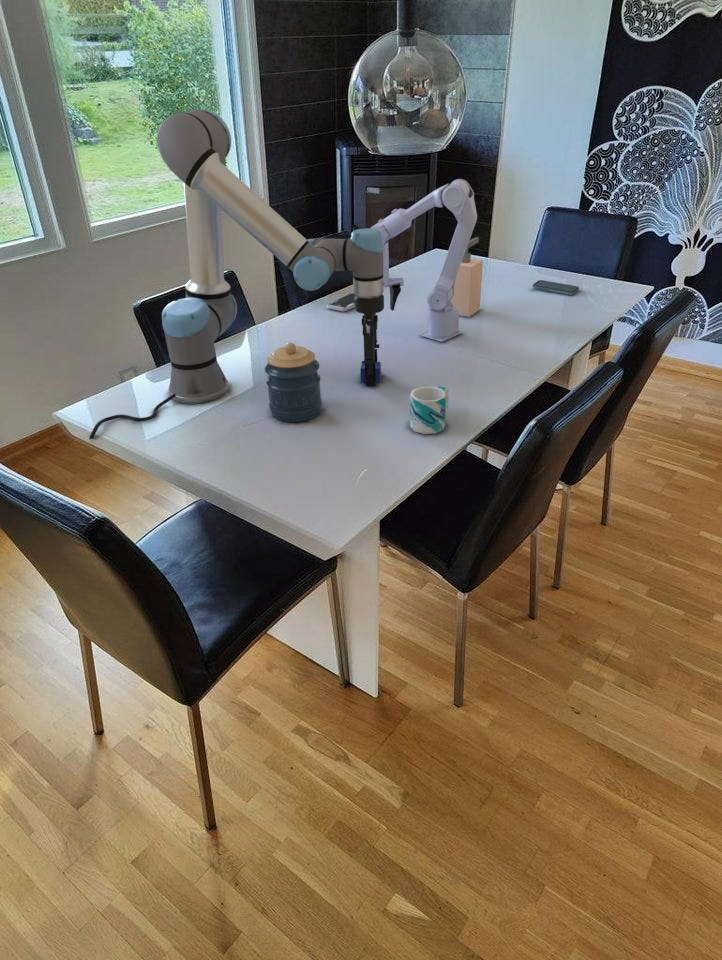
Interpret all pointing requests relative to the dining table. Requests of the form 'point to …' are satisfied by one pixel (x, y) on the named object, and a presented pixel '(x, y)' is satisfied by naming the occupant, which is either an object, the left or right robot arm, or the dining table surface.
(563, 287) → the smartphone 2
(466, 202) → the right robot arm
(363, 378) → the block
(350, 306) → the smartphone
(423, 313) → the dining table surface
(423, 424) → the mug
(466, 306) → the soap dispenser
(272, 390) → the canister
